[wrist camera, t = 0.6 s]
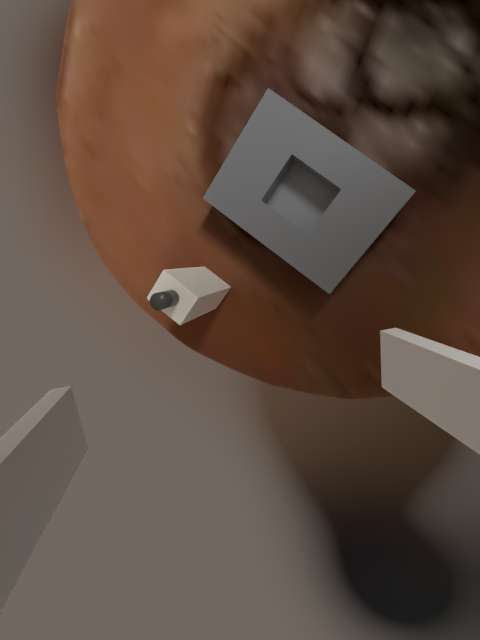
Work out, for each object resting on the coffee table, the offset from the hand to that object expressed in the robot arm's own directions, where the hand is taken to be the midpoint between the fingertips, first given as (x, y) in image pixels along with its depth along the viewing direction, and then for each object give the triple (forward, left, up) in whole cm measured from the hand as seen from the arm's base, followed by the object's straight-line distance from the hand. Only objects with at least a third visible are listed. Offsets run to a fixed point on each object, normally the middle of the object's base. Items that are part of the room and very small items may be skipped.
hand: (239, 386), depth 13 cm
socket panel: (-12, -1, -31) cm, 33 cm away
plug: (0, -13, -31) cm, 34 cm away
